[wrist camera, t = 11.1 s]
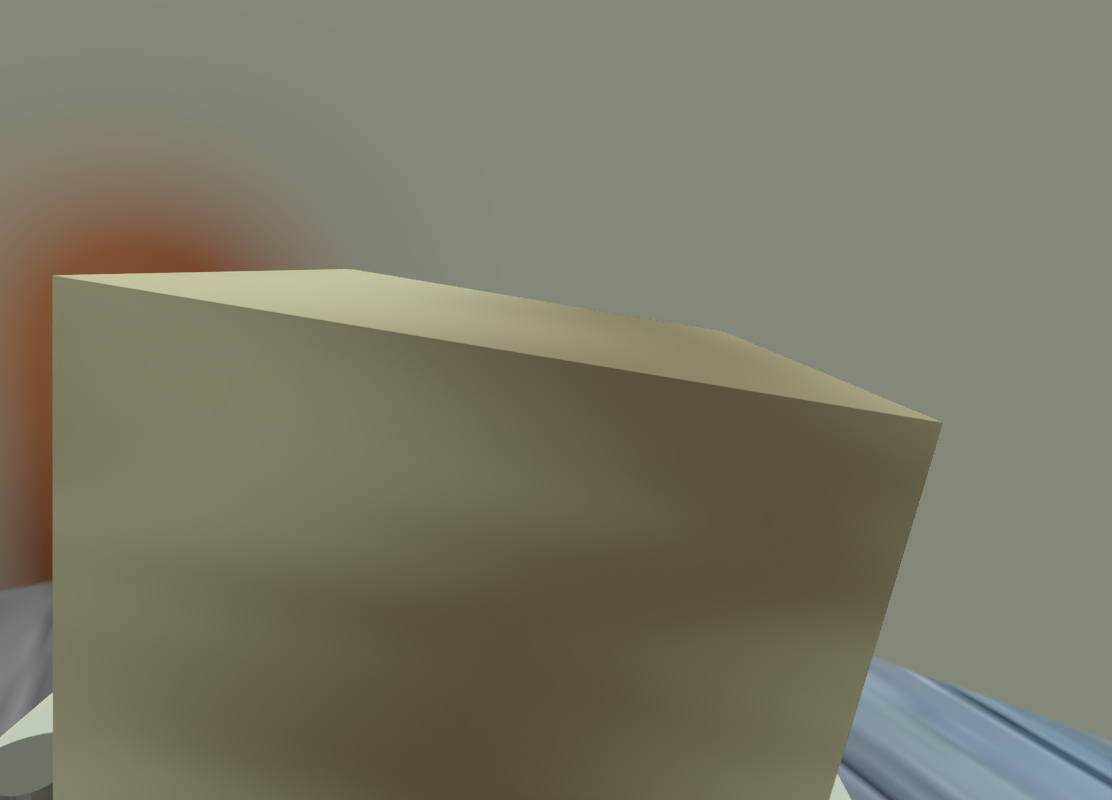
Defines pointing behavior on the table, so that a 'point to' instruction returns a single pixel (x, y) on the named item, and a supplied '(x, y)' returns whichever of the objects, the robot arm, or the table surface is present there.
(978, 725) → the table surface
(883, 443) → the block
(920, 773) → the table surface
